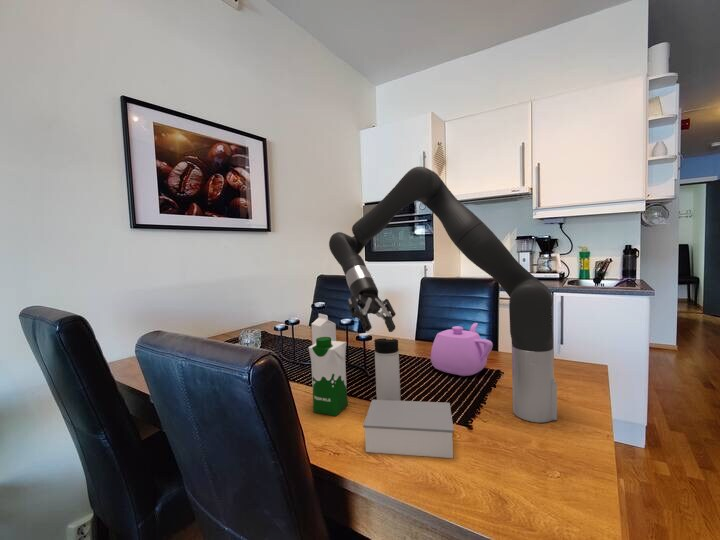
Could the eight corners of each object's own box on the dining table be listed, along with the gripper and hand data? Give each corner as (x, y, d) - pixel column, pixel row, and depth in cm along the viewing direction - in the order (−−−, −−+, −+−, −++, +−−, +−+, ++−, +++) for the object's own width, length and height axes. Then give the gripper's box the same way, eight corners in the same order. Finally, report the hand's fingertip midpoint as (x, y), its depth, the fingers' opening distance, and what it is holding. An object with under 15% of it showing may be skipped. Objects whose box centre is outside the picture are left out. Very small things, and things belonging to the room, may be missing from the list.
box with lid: (450, 427, 82) (449, 402, 82) (454, 459, 70) (453, 430, 69) (373, 423, 85) (372, 399, 85) (364, 452, 73) (362, 425, 73)
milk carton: (308, 413, 92) (304, 339, 91) (325, 399, 100) (322, 331, 99) (337, 418, 88) (333, 342, 87) (352, 403, 97) (349, 333, 96)
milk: (323, 382, 113) (319, 316, 112) (314, 377, 118) (310, 314, 117) (338, 378, 117) (335, 314, 116) (329, 373, 122) (325, 311, 120)
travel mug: (373, 417, 89) (370, 340, 87) (381, 406, 95) (378, 334, 93) (396, 420, 86) (393, 342, 85) (403, 409, 92) (400, 335, 91)
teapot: (481, 385, 105) (479, 337, 105) (424, 370, 121) (422, 328, 120) (511, 366, 121) (510, 323, 120) (457, 354, 136) (456, 317, 136)
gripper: (348, 273, 96) (368, 321, 87) (386, 278, 105) (407, 323, 95) (335, 289, 100) (353, 337, 91) (372, 294, 109) (392, 337, 99)
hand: (381, 330), depth 93 cm, fingers open, 8 cm apart
